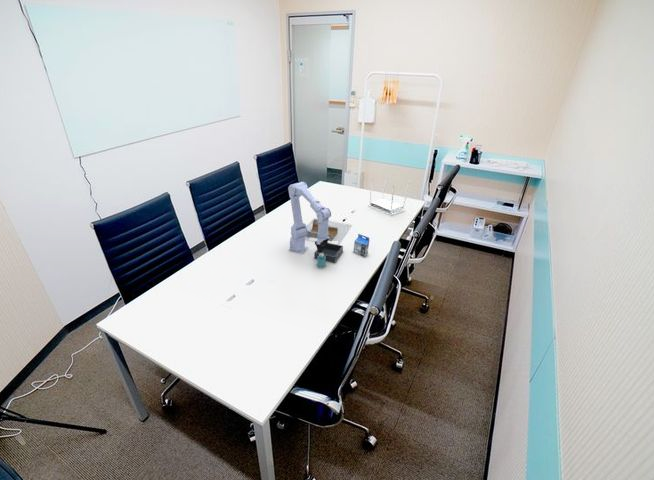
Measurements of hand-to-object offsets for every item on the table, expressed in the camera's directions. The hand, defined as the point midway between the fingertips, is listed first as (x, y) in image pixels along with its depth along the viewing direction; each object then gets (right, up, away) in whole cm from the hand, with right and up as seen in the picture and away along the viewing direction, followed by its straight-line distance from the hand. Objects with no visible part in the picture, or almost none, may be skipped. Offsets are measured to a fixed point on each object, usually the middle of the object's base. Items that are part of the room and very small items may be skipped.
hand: (322, 249), depth 198 cm
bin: (+5, -3, +14) cm, 15 cm away
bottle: (0, -10, +3) cm, 10 cm away
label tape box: (+25, -2, +16) cm, 30 cm away
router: (+58, +38, +80) cm, 106 cm away
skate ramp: (+4, +15, +43) cm, 46 cm away
